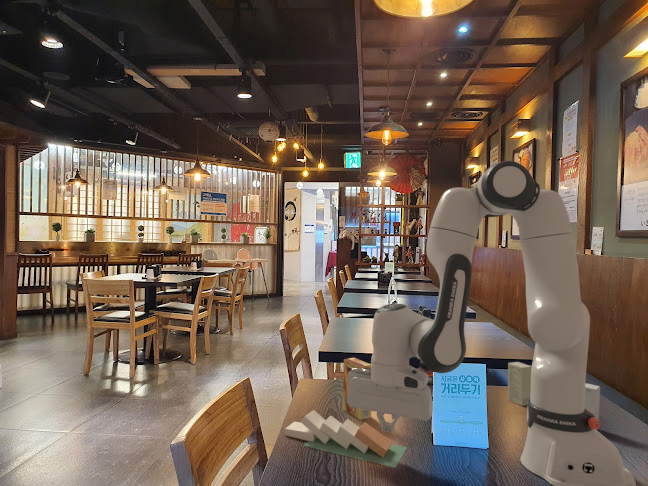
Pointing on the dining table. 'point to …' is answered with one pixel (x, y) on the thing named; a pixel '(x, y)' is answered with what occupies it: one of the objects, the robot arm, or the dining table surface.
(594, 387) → the skincare box
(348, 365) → the candy box
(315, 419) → the tile
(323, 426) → the tile
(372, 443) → the tile
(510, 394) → the skincare box
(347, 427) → the tile
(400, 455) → the felt runner
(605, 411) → the dining table surface
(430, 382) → the supplement bottle
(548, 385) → the robot arm
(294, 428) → the tile
